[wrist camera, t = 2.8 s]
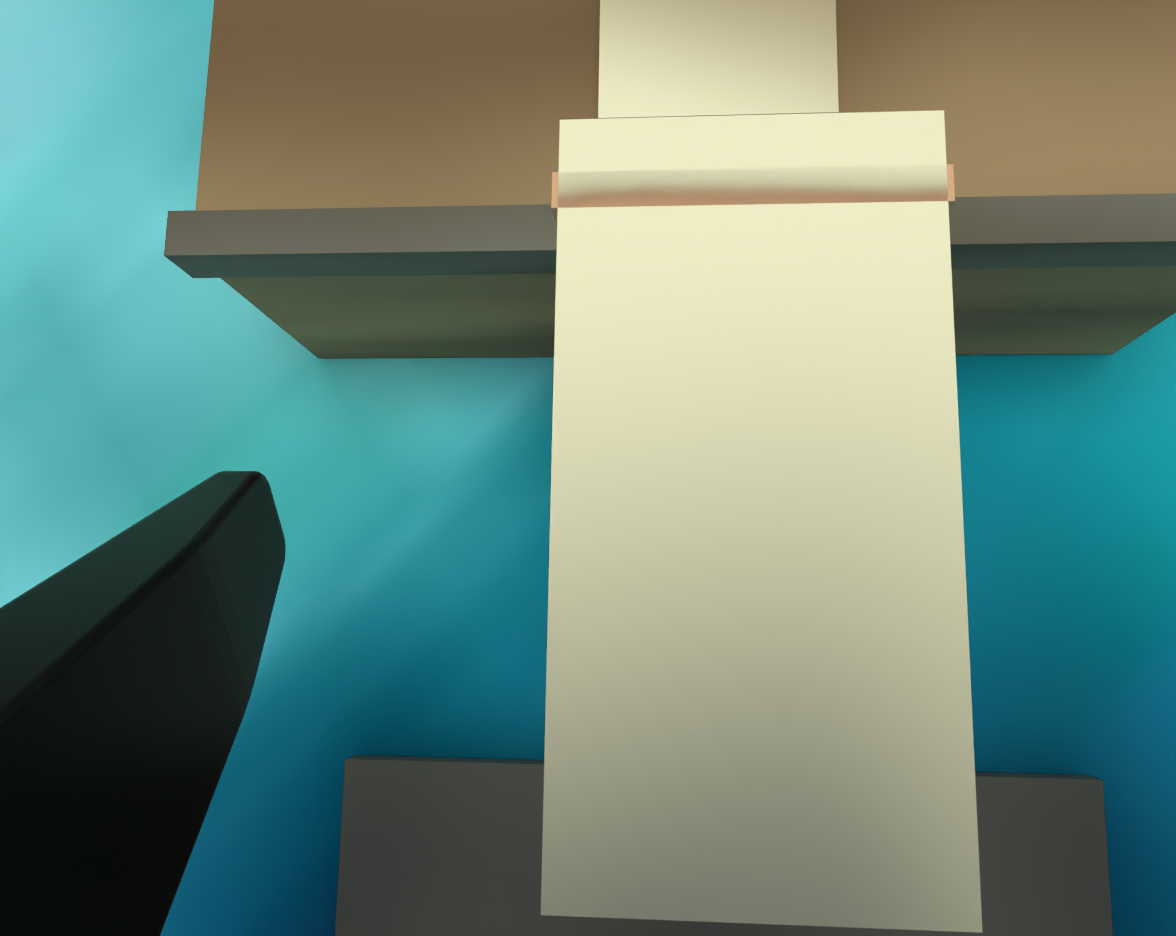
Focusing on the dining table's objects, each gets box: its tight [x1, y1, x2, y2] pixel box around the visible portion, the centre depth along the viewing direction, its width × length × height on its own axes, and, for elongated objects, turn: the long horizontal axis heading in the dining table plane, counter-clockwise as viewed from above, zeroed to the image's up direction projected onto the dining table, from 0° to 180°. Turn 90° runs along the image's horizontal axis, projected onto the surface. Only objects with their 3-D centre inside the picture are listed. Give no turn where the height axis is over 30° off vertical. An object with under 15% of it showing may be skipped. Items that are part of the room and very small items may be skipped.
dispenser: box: [164, 0, 1176, 358], centre depth 16 cm, size 6×14×6 cm, turn 89°
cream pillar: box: [541, 110, 982, 933], centre depth 12 cm, size 6×3×10 cm, turn 179°
